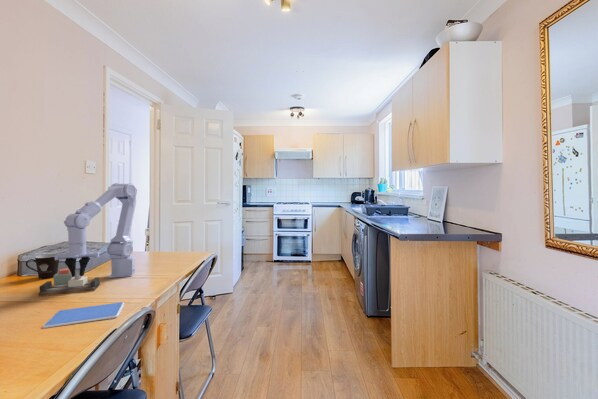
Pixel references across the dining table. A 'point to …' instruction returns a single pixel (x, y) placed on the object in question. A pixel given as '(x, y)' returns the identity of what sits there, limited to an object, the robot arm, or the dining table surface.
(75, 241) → the robot arm
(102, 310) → the tablet computer
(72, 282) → the carriage
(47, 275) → the coffee mug
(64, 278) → the gauge cabinet
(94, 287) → the dark gray tray
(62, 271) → the plunger
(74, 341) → the dining table surface
